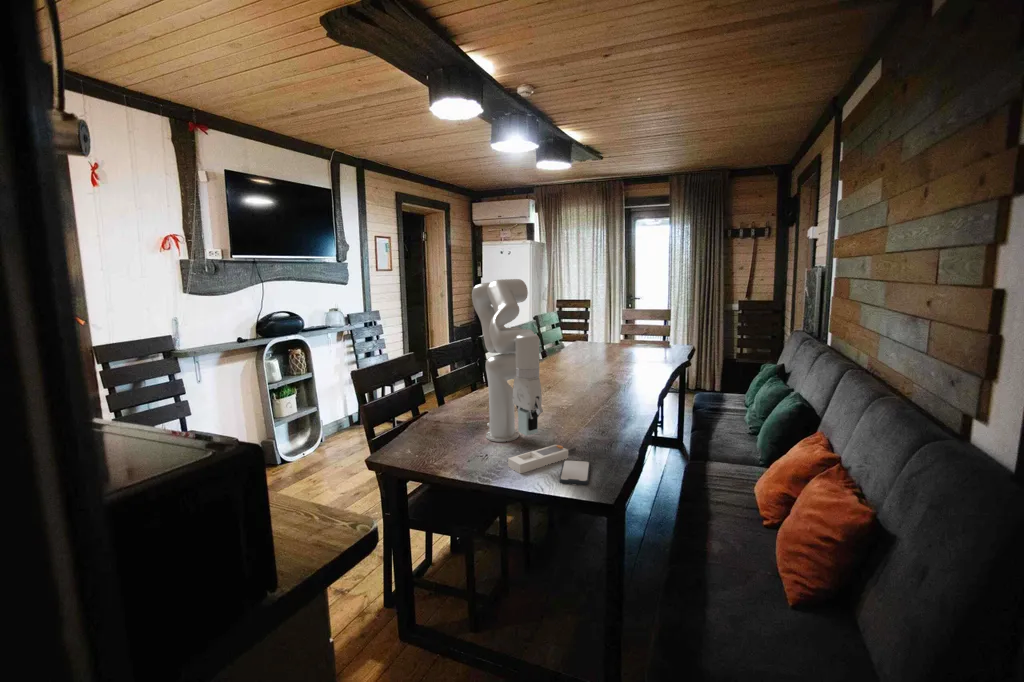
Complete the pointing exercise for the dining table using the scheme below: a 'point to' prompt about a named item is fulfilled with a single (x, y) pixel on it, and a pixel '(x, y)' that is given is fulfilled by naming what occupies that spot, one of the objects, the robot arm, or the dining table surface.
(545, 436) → the dining table surface
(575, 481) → the smartphone
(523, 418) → the block
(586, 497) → the dining table surface
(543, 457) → the power strip
